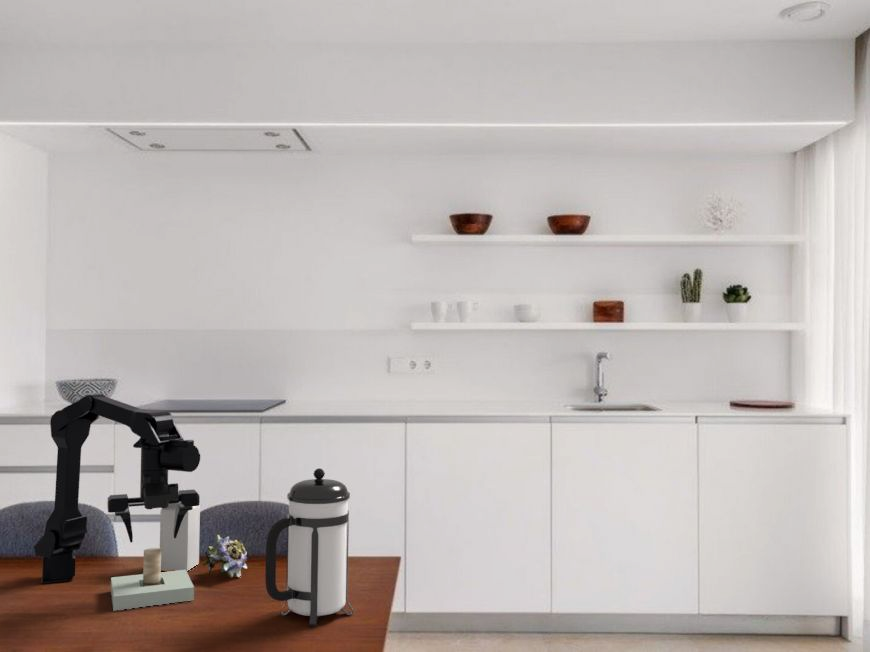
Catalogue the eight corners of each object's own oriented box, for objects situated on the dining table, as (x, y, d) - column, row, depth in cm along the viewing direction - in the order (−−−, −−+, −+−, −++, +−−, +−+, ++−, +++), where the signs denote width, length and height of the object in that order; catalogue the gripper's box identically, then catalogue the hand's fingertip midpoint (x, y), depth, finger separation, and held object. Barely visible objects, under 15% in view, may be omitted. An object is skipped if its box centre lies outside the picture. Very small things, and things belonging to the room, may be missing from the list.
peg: (143, 599, 166) (144, 553, 166) (141, 594, 169) (142, 548, 170) (161, 597, 167) (162, 551, 168) (159, 592, 171) (160, 547, 171)
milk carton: (199, 565, 192) (200, 488, 193) (187, 573, 185) (188, 494, 186) (171, 564, 193) (173, 488, 193) (158, 572, 186) (160, 493, 186)
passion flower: (236, 601, 182) (233, 568, 175) (193, 589, 183) (189, 557, 177) (256, 563, 191) (254, 531, 184) (215, 553, 193) (211, 520, 186)
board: (113, 611, 159) (113, 596, 159) (110, 591, 171) (111, 577, 171) (193, 601, 165) (194, 587, 165) (185, 582, 178) (185, 569, 178)
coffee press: (284, 601, 166) (286, 462, 167) (357, 603, 165) (359, 463, 166) (263, 631, 149) (266, 475, 149) (345, 633, 148) (348, 477, 149)
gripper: (109, 477, 158) (108, 553, 157) (203, 471, 166) (202, 544, 165) (108, 469, 168) (106, 541, 167) (196, 464, 176) (195, 532, 175)
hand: (153, 540), depth 169 cm, fingers open, 9 cm apart
